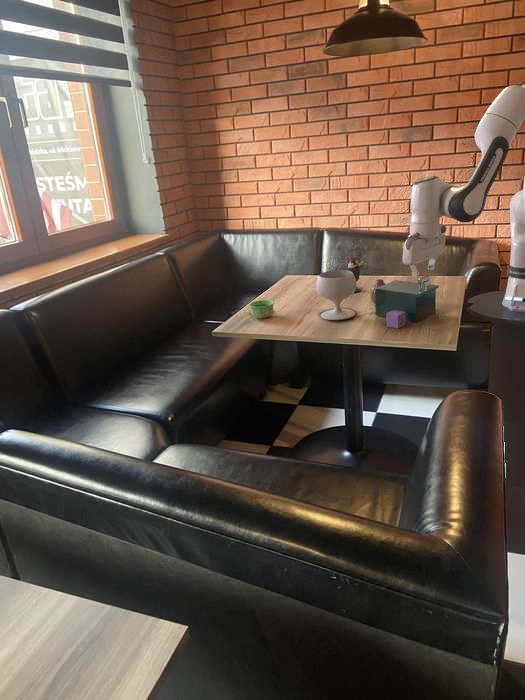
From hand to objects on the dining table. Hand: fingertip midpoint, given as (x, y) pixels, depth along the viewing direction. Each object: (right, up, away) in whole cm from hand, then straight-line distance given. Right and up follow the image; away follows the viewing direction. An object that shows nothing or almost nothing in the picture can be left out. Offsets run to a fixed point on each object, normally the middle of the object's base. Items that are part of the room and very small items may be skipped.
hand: (423, 273), depth 174 cm
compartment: (-3, -13, +10) cm, 16 cm away
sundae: (-15, -1, +44) cm, 47 cm away
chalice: (-26, -13, +15) cm, 32 cm away
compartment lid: (-4, -4, +7) cm, 9 cm away
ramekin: (-52, -12, +24) cm, 59 cm away
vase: (-9, -8, +25) cm, 27 cm away
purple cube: (-9, -17, 0) cm, 19 cm away
